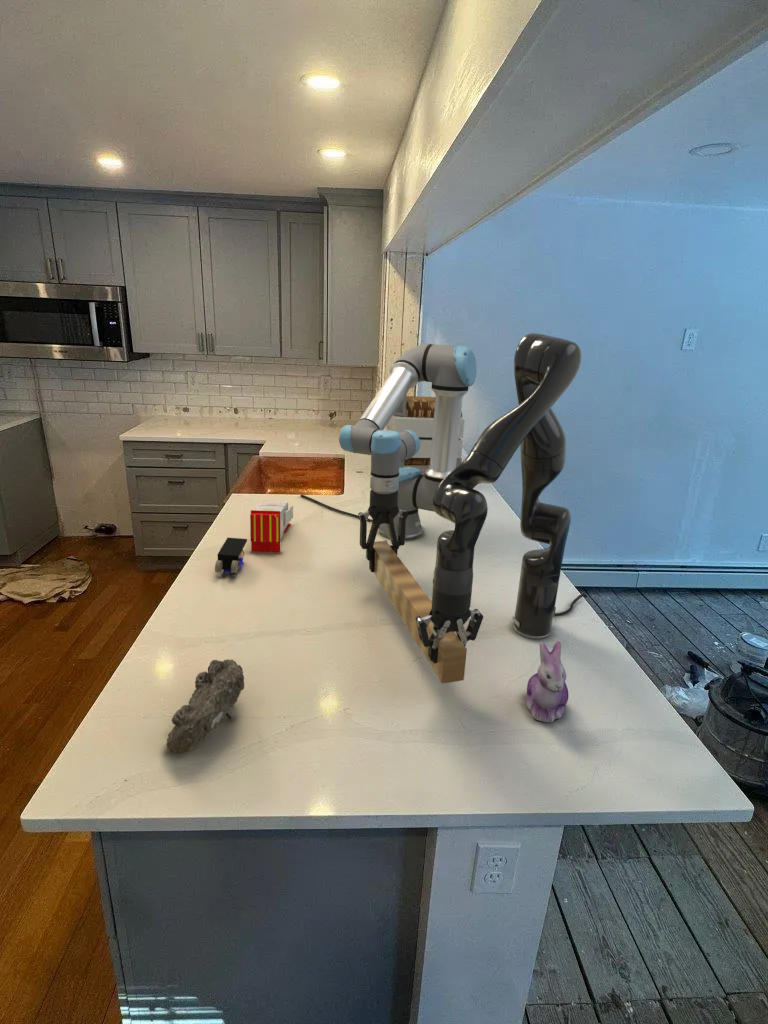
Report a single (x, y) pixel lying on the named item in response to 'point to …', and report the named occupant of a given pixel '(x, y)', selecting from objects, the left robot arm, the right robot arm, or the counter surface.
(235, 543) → the figurine character
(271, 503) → the toy
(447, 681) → the beam
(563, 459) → the right robot arm
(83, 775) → the counter surface
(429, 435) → the transformer
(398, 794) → the counter surface
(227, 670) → the fossil
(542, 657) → the figurine
